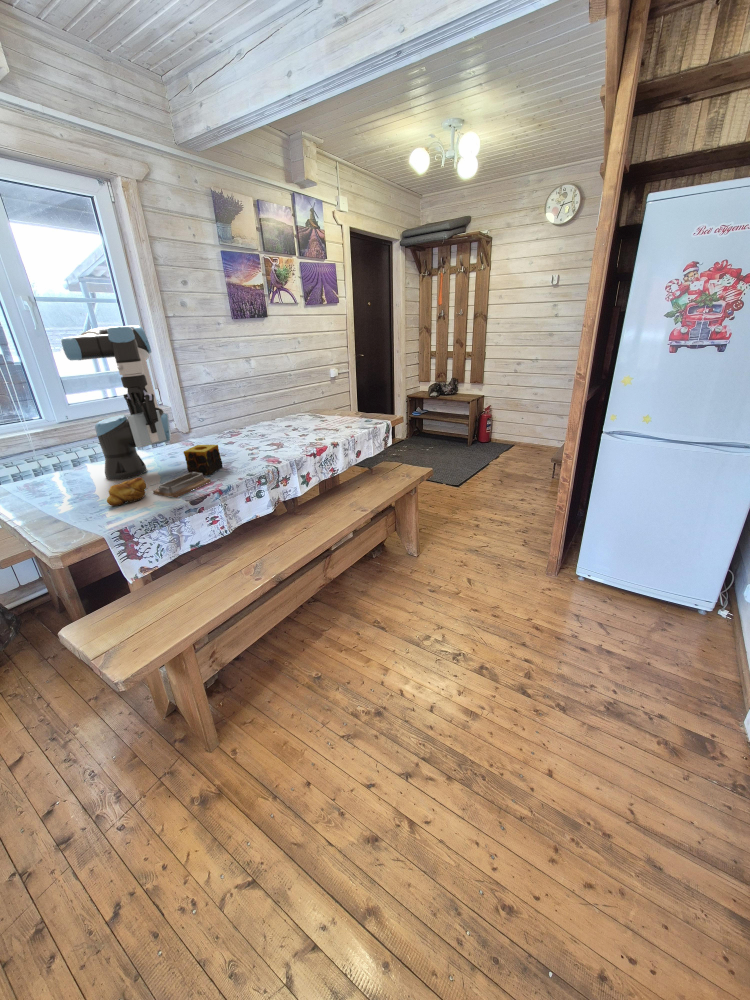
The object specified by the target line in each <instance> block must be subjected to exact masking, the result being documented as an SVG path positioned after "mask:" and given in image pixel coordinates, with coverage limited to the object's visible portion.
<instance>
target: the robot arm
mask: <svg viewBox="0 0 750 1000" xmlns="http://www.w3.org/2000/svg"><path fill="white" fill-rule="evenodd" d="M61 346H62V349H63V353H64V354H65V355H64V356H65V357H66V358H67V359H68V360H69V361H84V360H94V359H107V358H109V359H110V358H114V359H115V363H116V365H117V369H118V371H119V372H118V373H119V375H120V376H121V377H120V379H121V383H122V387H123V388H125V389H127V393H125V394H123V398H124V400H125V402H126V405H127V407H128V411H129V415H133V414H137V413H142V412H143V414H144V416H145V419H146V421H147V424H146V426H147V430H148V433H149V437H150V440H151V443H154V442H157V441H159V439H158V435H157V430H156V426H155V423H156V422H158V417H157V412H156V410H159V413H160V417H161V421H162V425H163V428H164V432H165V436H166V440H164V441H161V442H158V443H155V444H154V445H158V444H163V443H167V442H169V441H170V440H171V439H172V435H171V434H172V433H171V424H170V418H169V414H168V413H165V412H164V409H162V408H160V407H159V405H158V401H157V397H156V393H155V389H154V386H153V381H152V378H151V374H150V369H149V366H148V362H147V360H148V359H149V357H150V354H151V353H152V349H151V345H150V342H149V340H148V336H147V334H146V332H145V330H144V329H143V327H142V326H141V325H133V324H132V325H130V324H129V325H124V326H122V325H121V326H119V325H118V326H102V327H95V328H92V329H89V330H87V331H83V332H82V333H81V334H80V335H76V336H72V335H71V336H66V337H62V338H61ZM94 429H95V432H96V437H97V438H98V442H99V445H100V448H101V450H102V454H103V457H104V475H105V478H106V479H107V480H111V481H117V480H118V481H119V480H126V479H127V480H128V479H131V478H134V477H135V478H136V477H139V476H140V475H142V474H144V473H146V472H147V470H148V469H147V465H146V463H145V462H144V460H143V459H142V458H141V457H140V455H139V454H138V451H137V449H136V448H137V447H136V444H135V441H134V438H133V434H132V431H131V428H130V424H129V421H128V418H127V416H126V415H125V414H122V415H115V416H111V417H108V418H107V417H106V418H105V419H103V420H102V419H101V420H100V421H98V422H96V423H95V425H94ZM152 445H153V444H151V445H150V446H152Z"/></svg>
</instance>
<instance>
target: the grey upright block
mask: <svg viewBox="0 0 750 1000" xmlns="http://www.w3.org/2000/svg"><path fill="white" fill-rule="evenodd" d="M156 412H157V417H158V422H156V423H155V426H156V430H157V435H158V439H159V441H157V442H154V443H151V440H150V437H149V433H148V430H147V426H146V424H147V421H146V419H145V416H144V414H143V412H142V413H137V414H133V415H131V414H129V415H127V416H126V417H127V419H128V421H129V424H130V428H131V431H132V434H133V438H134V441H135V444H136V447H135V448H137V447H139V448H145V447H147V446H152V445H156V444H155V443H158V442H161V441H164V440H166V436H165V432H164V428H163V425H162V421H161V417H160V413H159V410H156ZM151 444H152V445H151Z"/></svg>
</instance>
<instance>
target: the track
mask: <svg viewBox="0 0 750 1000" xmlns="http://www.w3.org/2000/svg"><path fill="white" fill-rule="evenodd" d="M209 482H210V483H212V480H211V478H208V477H207V478H206V477H204V475H203V473H198V472H192V473H190V472H189V473H188V472H187V473H185V474H182V475H180V476H178V477H174V478H173V479H170V480H167V481H165V482H163V483H160V484H159V485H157V489H153V490H152V493H153V495H159V496H162V497H163V496H164V497H170V498H175V499H179V497H182V496H184V495H186V494H188V492H189V493H191V492H192V491H191V490H193V489H195V490H196V488H197V489H199V488H201V487H203V486H202V485H204V484H206V483H208V484H210V483H209ZM206 485H207V484H206ZM200 486H201V487H200ZM204 486H205V485H204ZM198 487H199V488H198ZM190 491H191V492H190ZM193 491H194V490H193Z"/></svg>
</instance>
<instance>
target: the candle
mask: <svg viewBox="0 0 750 1000" xmlns="http://www.w3.org/2000/svg"><path fill="white" fill-rule="evenodd" d="M183 456H184V457H185V458H184V459H185V462H186V469H187V473H189V472H190V473H192V472H198V473H203V476H211V475H213V474H215V473H216V472H218V471H219V470H220V469H222V468H223V467H224V466H223V461H222V460H223V459H222V458H221V453H220V449H219V445H218V444H196V445H194V446H192V447H190V448H187V449H186V450H184V451H183Z"/></svg>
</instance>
